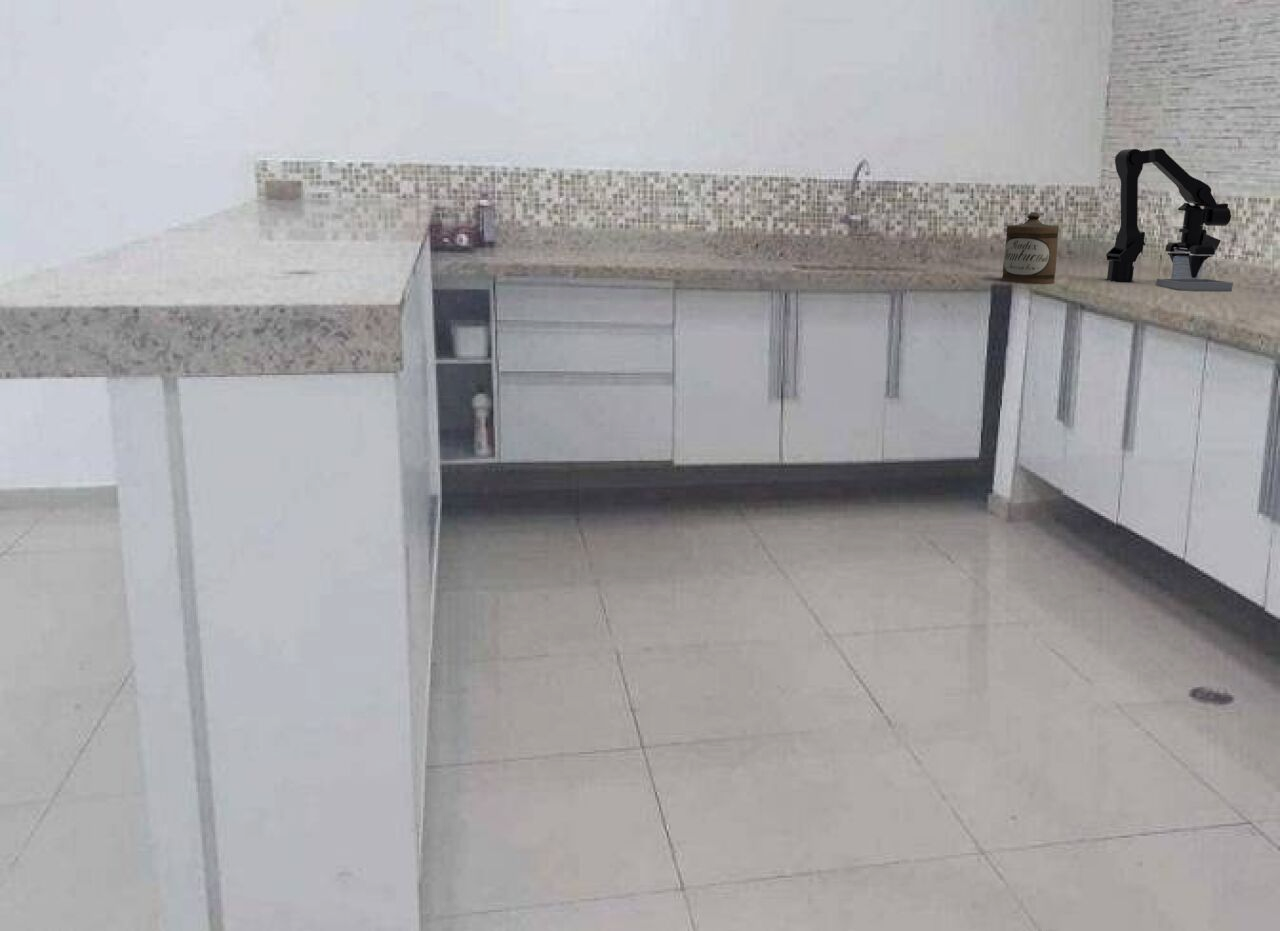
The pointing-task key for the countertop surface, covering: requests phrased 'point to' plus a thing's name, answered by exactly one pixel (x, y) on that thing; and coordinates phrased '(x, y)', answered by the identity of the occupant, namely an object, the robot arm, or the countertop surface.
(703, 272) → the countertop surface
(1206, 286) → the tray
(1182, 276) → the medicine box
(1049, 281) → the wooden container
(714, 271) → the countertop surface
